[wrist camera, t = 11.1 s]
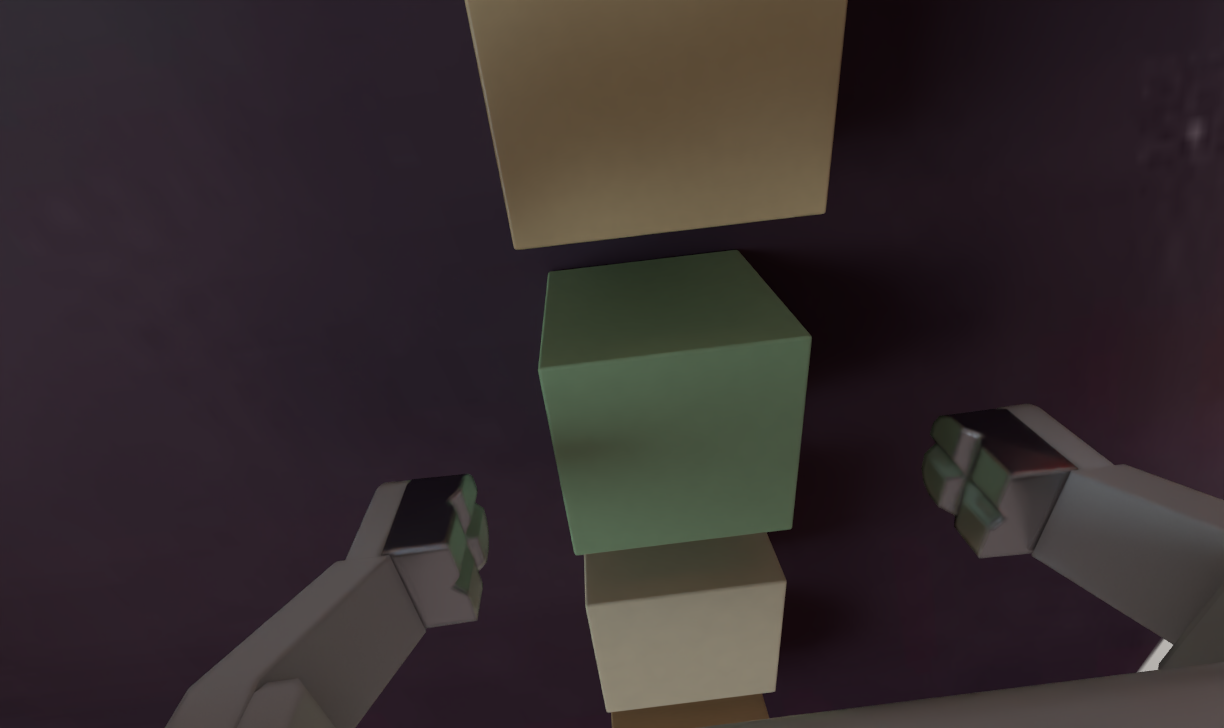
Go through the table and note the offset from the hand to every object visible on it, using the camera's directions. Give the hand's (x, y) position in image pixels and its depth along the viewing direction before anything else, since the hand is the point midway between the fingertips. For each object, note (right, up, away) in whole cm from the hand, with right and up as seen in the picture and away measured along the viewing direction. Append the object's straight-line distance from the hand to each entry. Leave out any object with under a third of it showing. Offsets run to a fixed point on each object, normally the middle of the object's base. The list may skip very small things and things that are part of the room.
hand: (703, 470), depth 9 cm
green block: (-1, +2, +6) cm, 6 cm away
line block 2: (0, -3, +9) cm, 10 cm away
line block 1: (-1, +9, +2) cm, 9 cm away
